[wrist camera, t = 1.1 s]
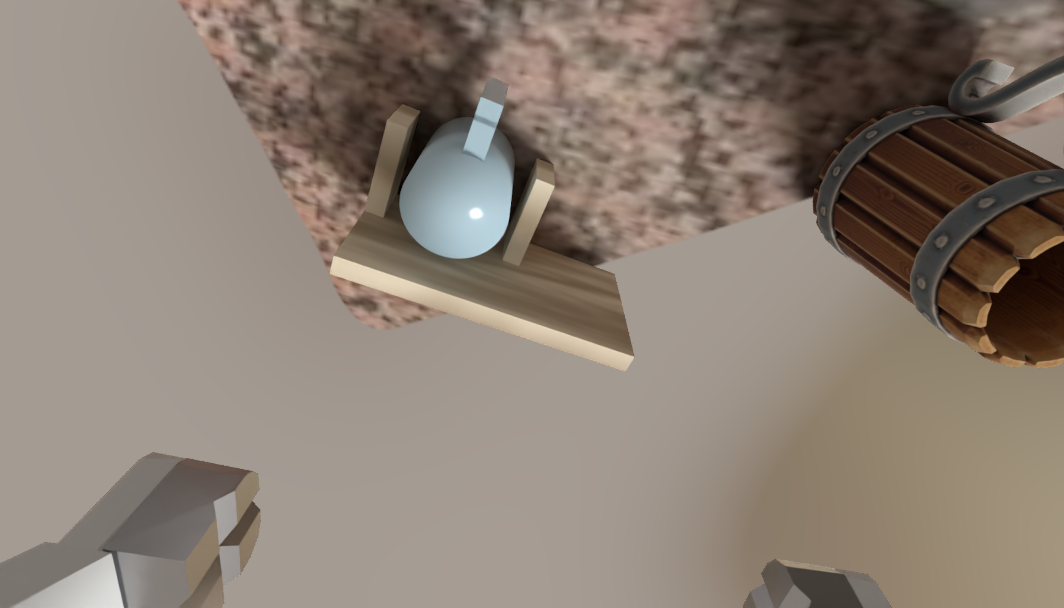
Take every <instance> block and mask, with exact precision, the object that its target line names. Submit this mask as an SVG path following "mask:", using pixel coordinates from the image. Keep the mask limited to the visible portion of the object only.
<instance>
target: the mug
mask: <svg viewBox="0 0 1064 608" xmlns="http://www.w3.org/2000/svg"><path fill="white" fill-rule="evenodd" d="M1013 70H1014V68H1013V67H1011V66H1008V65H1005V64H1003V63H1000V62H997V61H995V60H990V59H985V60H980V61H977V62H976V63H974V64H972V65H971V66H969V67H968V68H967V69H966V70H965V71H964V72H963V73H962V74H961V75H960V76H959V77H958V78H957V80H956V81H955V83H954V85H953V86H952V88H951V91H950V94H949V97H948V105H949V107H950V108H947V107H941V106H935V105H930V106H924V107H922V106H920V105H911V106H904V107H900V108H897V109H894V110H891V111H887V112H886V113H884V114H883V115H882V116H880V117H879V118H878V119H874V118H872V119H871V120H869V121H868V122H866V123H864V124H863V125H861V126H860V127H858V128H857V129H856V130H855V131H853V132H852V133H851V134H850V135H849V136H847V137H846V138H845V139H844V141H843V142H842V144H841V146H839V147H838V148H836V149H835V150H834V151H833V153H832V154H831V155H830V157H829V158H828V160H827V161H826V163H825V164H824V166H823V168H822V170H821V172H820V174H819V179H820V180H819V182H818V184H817V185H816V187H815V189H814V196H813V213H814V214H815V215H817V222H816V223H817V225H818V227H819V229H820V231H821V233H822V234H823V235H824V237H825V239H826V240H827V241H828V242H829V243H830V244H831V245H832V246H833V247H834V248H835V249H836V250H837V251H839V252H840V253H841V254H843V255H844V256H845V257H846V258H848V259H849V260H850V261H852V262H855V263H857V264H859V265H861V266H863V267H865V268H866V269H867V270H869V271H870V272H871V273H873V274H874V275H875V276H877V277H878V278H879V279H881V280H882V281H883V282H885V283H886V284H887V285H888V286H890V287H891V288H892V289H894V290H895V291H896V292H898V293H899V294H900V295H902V296H903V297H904V298H906V299H907V300H908V301H910V302H911V303H912V304H914V305H915V307H916V309H917V310H918V311H919V312H920V313H921V314H922V315H923V316H924V317H925V318H926V319H927V320H928V321H929V322H931V323H932V324H933V325H935V326H936V327H937V328H939V329H940V330H941V331H942V332H944V333H945V334H946V335H948V336H949V337H950V338H952V339H954V340H956V341H958V342H961V343H963V344H965V345H967V346H969V347H970V348H972V349H973V350H974V351H976V352H978V353H979V354H981V355H982V356H983V357H985V358H987V359H989V360H991V361H993V362H996V363H999V364H1003V365H1006V366H1010V367H1019V366H1022V365H1028V366H1033V367H1037V368H1046V367H1052V366H1057V365H1060V364H1062V363H1064V169H1063V168H1061V167H1059V166H1057V165H1055V164H1053V163H1051V162H1049V161H1047V160H1045V159H1043V158H1041V157H1039V156H1038V155H1036V154H1034V153H1032V152H1030V151H1028V150H1026V149H1024V148H1022V147H1020V146H1018V145H1016V144H1015V143H1012V142H1011V141H1009V140H1007V139H1005V138H1003V137H1001V136H999V135H997V134H995V133H994V131H993V130H992V129H991V128H990V127H988V126H987V125H985V124H983V123H994V122H999V121H1003V120H1006V119H1009V118H1012V117H1014V116H1016V115H1019V114H1021V113H1023V112H1025V111H1027V110H1029V109H1031V108H1033V107H1035V106H1037V105H1039V104H1041V103H1043V102H1045V101H1047V100H1049V99H1051V98H1053V97H1055V96H1057V95H1059V94H1061V93H1063V92H1064V56H1062V57H1059V58H1057V59H1055V60H1053V61H1051V62H1049V63H1047V64H1045V65H1043V66H1041V67H1039V68H1037V69H1035V70H1034V71H1032V72H1030V73H1028V74H1026V75H1025V76H1023V77H1021V78H1019V79H1017V80H1016V81H1014V82H1012V83H1010V84H1009V85H1007V86H1005V87H1003V88H1001V89H999V90H997V91H996V92H994V93H991V94H989V95H986V93H987V92H988V90H989V89H990V88H991V87H992V86H994V85H1002V86H1003V84H1004V83H1005V81H1006V80H1007V79H1008V77H1009V76H1010V74H1011V73H1012V71H1013ZM981 122H982V123H981Z"/></svg>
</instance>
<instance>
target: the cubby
mask: <svg viewBox="0 0 1064 608" xmlns="http://www.w3.org/2000/svg"><path fill="white" fill-rule="evenodd" d="M419 115H420V111H419V110H416V109H414V108H411V107H409V106H406V105H404V104H402V105H401V106H400V107H399V108H398V109H397V110H396V111H395V112H394V113H393V114H392V115H391V116H390V118H389V119H388V120H387V123H386V127H385V131H384V135H383V139H382V143H381V147H380V151H379V155H378V159H377V163H376V167H375V171H374V175H373V179H372V183H371V187H370V191H369V195H368V199H367V203H366V207H365V211H364V212H363V214H362V215H361V217H360V218H359V220H358V221H357V223H356V224H355V226H354V227H353V228H352V230H351V231H350V233H349V234H348V236H347V237H346V239H345V240H344V242H343V243H342V244H341V246H340V247H339V249H338V250H337V252H336V253H335V255H334V257H333V262H332V266H331V270H330V274H332V275H335V276H338V277H341V278H344V279H347V280H350V281H353V282H356V283H359V284H362V285H365V286H368V287H371V288H374V289H377V290H380V291H383V292H386V293H390V294H393V295H396V296H399V297H402V298H405V299H408V300H411V301H414V302H417V303H420V304H423V305H426V306H429V307H432V308H435V309H438V310H441V311H444V312H447V313H450V314H453V315H456V316H459V317H462V318H465V319H468V320H471V321H474V322H477V323H480V324H484V325H486V326H490V327H492V328H496V329H499V330H502V331H505V332H508V333H511V334H514V335H517V336H520V337H523V338H526V339H529V340H532V341H535V342H538V343H541V344H544V345H547V346H550V347H553V348H556V349H559V350H562V351H566V352H568V353H571V354H574V355H577V356H580V357H584V358H587V359H590V360H592V361H595V362H598V363H601V364H605V365H608V366H611V367H614V368H617V369H620V370H623V371H626V369H627V368H628V366H629V365H630V363H631V362H632V360H633V359H634V353H633V349H632V345H631V340H630V336H629V332H628V328H627V324H626V320H625V315H624V312H623V307H622V303H621V299H620V295H619V291H618V287H617V282H616V278H615V274H613V273H610V272H607V271H604V270H602V269H599V268H596V267H594V266H591V265H588V264H586V263H583V262H580V261H577V260H575V259H572V258H569V257H567V256H564V255H561V254H558V253H556V252H553V251H550V250H548V249H545V248H542V247H539V246H537V245H534V244H531V243H530V241H531V238H532V236H533V234H534V232H535V230H536V227H537V225H538V223H539V221H540V218H541V216H542V214H543V212H544V209H545V207H546V205H547V203H548V200H549V198H550V196H551V194H552V191H553V189H554V187H555V181H554V167H553V164H550V163H548V162H545V161H543V160H540V159H538V158H537V159H536V161H535V164H534V166H533V168H532V171H531V173H530V176H529V178H528V180H527V183H526V185H525V188H524V190H523V193H522V195H521V197H520V200H519V202H518V205H517V207H516V209H515V212H514V214H513V217H512V219H511V222H510V224H509V226H508V229H507V231H506V234H503V236H502V237H501V239H500V240H499V241H498V242H497V244H496V245H494V246H493V247H492V248H491V249H489V250H488V251H486V252H484V253H482V254H480V255H477V256H474V257H470V258H461V259H457V258H448V257H444V256H440V255H437V254H435V253H433V252H431V251H429V250H427V249H426V248H424V247H423V246H421V245H420V244H419V243H418V242H417V241H416V240H415V239H414V238H413V237H412V236H411V234H410V233H409V232H408V230H407V228H406V226H405V225H404V222H403V220H402V217H401V212H400V204H399V203H400V195H398V194H397V193H398V190H399V186H400V183H401V179H402V176H403V172H404V168H405V165H406V161H407V158H408V154H409V151H410V147H411V144H412V140H413V136H414V133H415V129H416V126H417V122H418V119H419Z"/></svg>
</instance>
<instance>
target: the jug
mask: <svg viewBox="0 0 1064 608" xmlns="http://www.w3.org/2000/svg"><path fill="white" fill-rule="evenodd" d="M508 86H509V84H507V83H504V82H502V81H500V80H497V79H495V78H493V77H490V76H489V79H488V81H487V83H486V86H485V88H484V91H483V93H482V96H481V98H480V101H479V104H478V107H477V110H476V113H475V116H474V117H460V118H456V119H453V120H450V121H448V122H446V123H444V124H443V125H442V126H440V127H439V128H438V129H437V130H436V131H435V132H434V134H433V135H432V136H431V138H430V140H429V141H428V143H427V145H426V146H425V148H424V150H423V152H422V153H421V155H420V157H419V158H418V160H417V162H416V163H415V165H414V167H413V168H412V170H411V172H410V173H409V175H408V177H407V178H406V180H405V182H404V184H403V187H402V189H401V194H400V203H399V204H400V212H401V217H402V220H403V222H404V225H405V226H406V228H407V230H408V232H409V233H410V234H411V236H412V237H413V238H414V239H415V240H416V241H417V242H418V243H419V244H420V245H421V246H423V247H424V248H426V249H427V250H429V251H431V252H433V253H435V254H437V255H440V256H444V257H448V258H457V259H461V258H470V257H474V256H477V255H480V254H482V253H484V252H486V251H488V250H489V249H491V248H492V247H493V246H494V245H496V244H497V242H498V241H499V240H500V239H501V237H502V236H503V234H504V232H505V230H506V228H507V225H508V221H509V216H510V207H511V198H512V189H513V180H514V171H515V157H514V153H513V149H512V147H511V144H510V142H509V141H508V139H507V138H506V136H505V135H504V134H503V133H502V132H501V130H499V129H498V128H497V127H496V126H497V124H498V121H499V118H500V115H501V112H502V110H503V107H504V103H505V99H506V94H507V90H508Z"/></svg>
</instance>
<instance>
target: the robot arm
mask: <svg viewBox="0 0 1064 608" xmlns="http://www.w3.org/2000/svg"><path fill="white" fill-rule="evenodd" d="M258 491H259V479H258V473H256V472H253V471H249V470H244V469H239V468H234V467H229V466H224V465H218V464H214V463H209V462H204V461H198V460H193V459H188V458H181V457H175V456H170V455H165V454H160V453H155V452H152V453H150V454H148V455H146V456H145V457H142V458H141V459H140V460H138V461H137V462H136V463H135V464H134V465H133V466H132V467H131V468H130V469H129V471H128V472H127V473H126V474H125V475H124V476H123V477H122V478H121V479H120V480H119V481H118V482H117V483H116V484H115V485H114V486H113V487H112V488H111V489H110V490H109V491H108V492H107V493H106V494H105V495H104V496H103V497H102V498H101V499H100V500H99V501H98V502H97V503H96V504H95V505H94V506H93V507H92V508H91V510H89V511H88V512H87V513H86V515H84V517H83V518H82V519H81V520H80V521H79V522H78V523H77V524H76V525H75V526H74V527H73V528H72V529H71V530H70V531H69V532H68V533H67V534H66V535H65V536H64V537H63V538H62V539H61V540H60V541H59V542H58V543H57V544H56V543H48V542H44V543H42V544H40V545H38V546H36V547H34V548H32V549H30V550H28V551H26V552H23V553H21V554H19V555H17V556H15V557H13V558H11V559H9V560H7V561H4V562H2V563H0V608H222V606H223V604H224V594H223V586H224V585H225V584H227V583H228V582H230V581H231V580H233V579H234V578H236V577H238V576H239V575H241V573H242V571H243V569H244V567H245V566H246V564H247V562H248V560H249V558H250V557H251V554H252V551H253V549H254V546H255V543H256V540H257V538H258V533H259V527H260V521H261V520H260V509H259V508H258V507H257V506H256V505H255V503H254V502H253V501H252V500H253V499H254V497H255V495H256V494H257V492H258ZM761 575H762V577H763V580H764V583H765V584H763V585H762V586H760V587H758V588H756V589H754V590H752V591H750V593H749V595H748V597H747V599H746V601H745V603H744V605H743V608H892V607H891V605H890V604H889V602H888V600H887V599H886V597H885V595H884V594H883V592H882V590H881V589H880V587H879V585H878V584H877V582H876V581H875V580H873V579H872V578H871V577H870V576H869V575H868V574H864V573H858V572H851V571H846V570H840V569H832V568H830V567H824V566H817V565H811V564H804V563H798V562H791V561H785V560H779V559H774V560H772V561H770V562H769V563H767V565H766V566H765V568H764V569H763V571H762V573H761Z"/></svg>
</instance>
